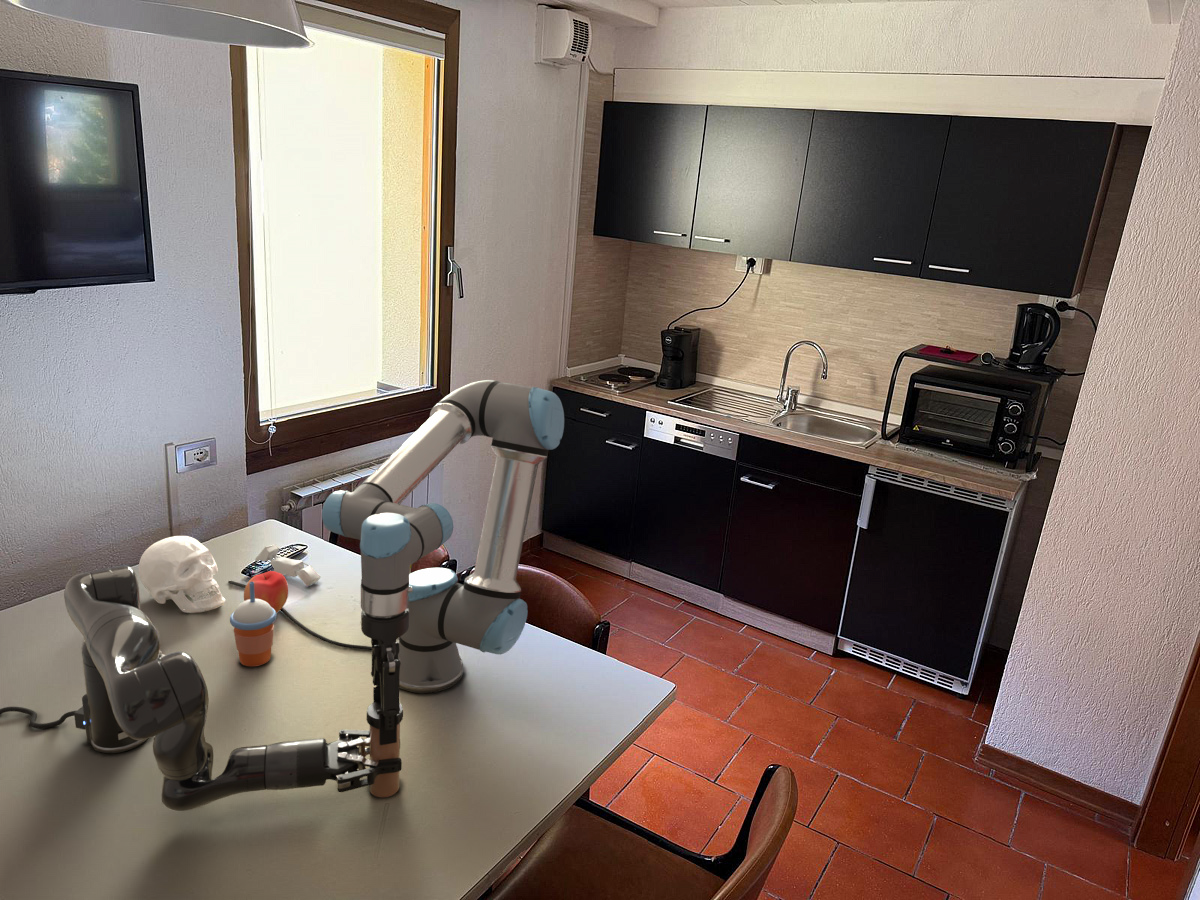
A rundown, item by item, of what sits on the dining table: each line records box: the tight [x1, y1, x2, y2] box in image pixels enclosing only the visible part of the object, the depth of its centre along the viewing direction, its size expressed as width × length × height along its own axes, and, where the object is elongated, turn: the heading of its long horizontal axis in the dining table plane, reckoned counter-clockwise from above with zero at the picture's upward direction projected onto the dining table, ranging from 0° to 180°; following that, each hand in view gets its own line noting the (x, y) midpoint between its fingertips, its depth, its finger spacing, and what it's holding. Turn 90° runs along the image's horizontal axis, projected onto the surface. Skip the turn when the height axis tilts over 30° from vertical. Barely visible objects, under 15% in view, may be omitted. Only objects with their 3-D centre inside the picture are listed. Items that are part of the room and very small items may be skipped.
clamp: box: [254, 544, 322, 587], centre depth 219 cm, size 20×4×7 cm, turn 62°
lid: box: [366, 700, 404, 729], centre depth 144 cm, size 6×6×2 cm
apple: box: [243, 570, 289, 614], centre depth 199 cm, size 10×10×10 cm
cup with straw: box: [229, 582, 278, 667], centre depth 180 cm, size 9×9×18 cm
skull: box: [138, 535, 226, 614], centre depth 202 cm, size 13×22×16 cm, turn 73°
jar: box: [369, 722, 401, 798], centre depth 146 cm, size 5×5×15 cm
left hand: (400, 753), depth 147 cm, fingers closed on jar, 5 cm apart
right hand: (384, 730), depth 145 cm, fingers closed on lid, 6 cm apart
